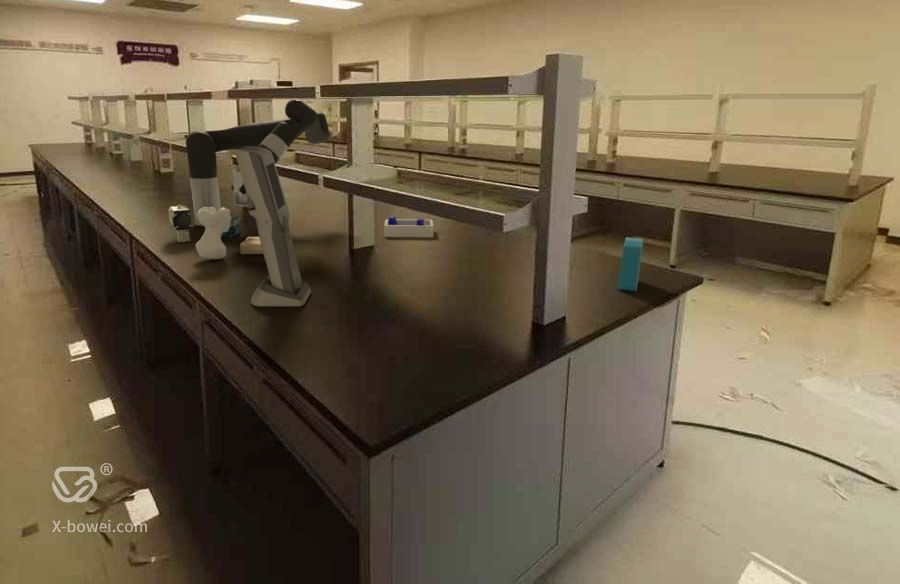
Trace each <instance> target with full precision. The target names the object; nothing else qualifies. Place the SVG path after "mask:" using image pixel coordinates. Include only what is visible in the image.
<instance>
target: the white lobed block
mask: <svg viewBox="0 0 900 584" xmlns="http://www.w3.org/2000/svg"><path fill="white" fill-rule="evenodd" d="M230 216H231V210H230V209H228V208H226V207H221V208H220V209H219V211H218V212H216V209H215V208H213V207H210V208H208V207H203V208H201V209H200V210H199V211H198V213H197V218H198V220H199V222H200V223H201V224H202V225H204V226H203V227H204V228H205V230H204V232H203V234H202V236H201V238H200V239H199V240H198V241H197V242H196V243H195V249H196V251H197V253H198V255H199V256H200V257H201V258H203V259H210V260H220V259H224V257H226V255H227V247H226V245H225V244H224V243H223V241H222V239H221V238H222V236H221V234H222V233H223V232H227V231H228V230H229V227H230V225H229V223H230V221H231V217H230Z"/></svg>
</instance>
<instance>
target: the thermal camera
mask: <svg viewBox="0 0 900 584" xmlns="http://www.w3.org/2000/svg"><path fill="white" fill-rule="evenodd" d="M234 155H235V159H236V161H237V164H238V167H239V169H240V172H241V176H242V179H243V183H244V186H245V189H246V192H247V194H248V206H247V207H246V208H247V209H248V214H249V215H250V216H252V217H254V219H255V226H256V230H257V234H258V237H259V238H260V243H261V247H262V250H263V254H262V255H263V257H264V261H265V264H266V268H267V271H268V275H267V276H266V278H264V280H263V281H262V282H261V283H260V284H259V286H258V287H257V288H256V290H255V291H254V293H253V294H252V297H251V300H250V303H251V305H252V306H253V307H258V308H267V307H268V308H301V307H303V306H305V304H306V302H307V300H308V299H309V297H310V295H311V292H312V290H311V287H310V285H309V284H308V283H307V282H305V281H302V277H301V272H300V267H299V263H298V260H297V256H296V252H295V251H296V250H295V247H294V244H293V239H292V238H293V237H292V236H291V235H292V233H291V231H290V226H289V225H290V223H289V222H290V211H289V206H288V203H287V199H286V196H285V192H284V189H283V187H282V182H281V179H280V176H279V172H278V169H277V164H276V165H275V162H274V158H273V155H272V153H271V151H270V150H268V149H266V148H259V147H248V146H246V147H244V148H241V149H235V150H234Z"/></svg>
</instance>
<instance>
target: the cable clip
mask: <svg viewBox="0 0 900 584" xmlns="http://www.w3.org/2000/svg"><path fill="white" fill-rule="evenodd" d="M388 219H389V225H398V223H397V221H396V219H397V218H396V216H393V215H392V216H390V217H388ZM416 220H417V224H416V225H424V220H425V219H424V218H418V219H416Z"/></svg>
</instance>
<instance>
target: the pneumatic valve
mask: <svg viewBox="0 0 900 584" xmlns="http://www.w3.org/2000/svg"><path fill="white" fill-rule="evenodd" d="M168 220H169V223H170V225H171V226H172V227H173V228H174V229H175V233H176V236H177V237H176V241H178V243H179V242H181V243H186V242H187V241H188V243H190V242H191V239H190V232H189V230H193V225H192V217H191V210H190V209H189V208H188V207H187V205H181V204H177V205H174V206H169V208H168ZM189 241H190V242H189Z"/></svg>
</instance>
